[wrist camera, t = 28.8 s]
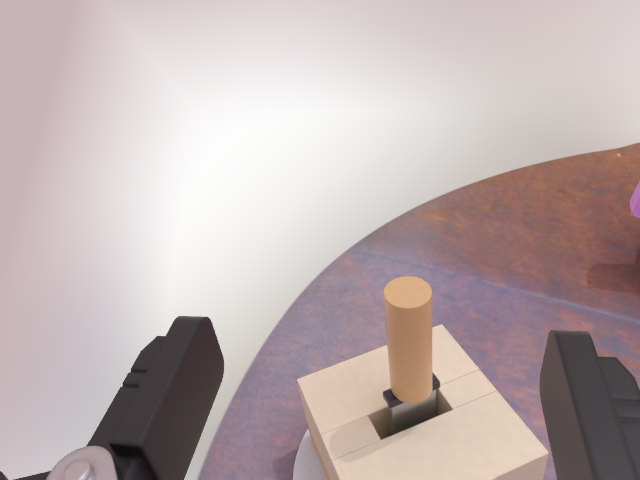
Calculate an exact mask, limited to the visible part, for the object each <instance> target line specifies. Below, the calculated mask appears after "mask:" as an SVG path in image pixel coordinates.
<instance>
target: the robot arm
mask: <svg viewBox="0 0 640 480" xmlns="http://www.w3.org/2000/svg"><path fill="white" fill-rule="evenodd" d="M223 373H224V359H223V355H222V352H221V349H220V346H219V343H218V340H217V337H216V334H215V331H214V328H213V325H212V322H211V320H210V319H209V318H208V317H190V316H179V317H177V318H176V319H175V320H174V322H173V324H172V326H171V327H170V329H169V331H168V333H167V335H166V336H157V337H156V338H155V339H154V340H153V341H152V342H151V343H150V344H148V345H147V346H146V347H145V348H144V349H143V350H142V351H141V352H140V354H139V356H138V358H137V359H136V361H135V363H134V365H133V366H132V368H131V372H130V373H128V375H127V377H126V378H125V380H124V382H123V386H122V387H120V389H119V391H118V393H117V394H116V396H115V398H114V400H113V402H112V403H111V405H110V407H109V408H108V410H107V412H106V414H105V415H104V417H103V419H102V421H101V422H100V424H99V426H98V428H97V429H96V431H95V433H94V435H93V436H92V438H91V440H90V441H89V443H88V445H87V446H86V447H83V448H80V449H77V450H75V451H73V452H71V453H70V454H68V455H66V456H65V457H64V458H63V459H61V460H60V461H59V462H58V463H57V464H56V465H55V466H54V468H53V469H52V470H51V471H49V472H45V473H40V474H36V475H32V476H28V477H23V478H19V479H15V480H184V478H185V475H186V473H187V470H188V467H189V465H190V462H191V460H192V457H193V454H194V452H195V449H196V447H197V444H198V442H199V439H200V436H201V434H202V431H203V428H204V426H205V423H206V421H207V418H208V416H209V413H210V410H211V408H212V405H213V402H214V400H215V397H216V395H217V392H218V390H219V387H220V384H221V382H222V378H223ZM540 397H541V404H542V408H543V413H544V418H545V423H546V427H547V432H548V437H549V442H550V446H551V451H552V456H553V461H554V465H555V470H556V475H557V480H640V390H639V387H638V385H637V382H636V380H635V378H634V376H633V375H632V374H631V373H630V372H629V371H628V370H627V369H626V368H625V367H624V366H623V365H622V363H621V362H620V361H619V360H618V359H617V358H616V357H598V355H597V353H596V350H595V347H594V344H593V341H592V338H591V336H590V334H589V333H588V332H583V331H555V330H551V331H550V332H549V335H548V340H547V345H546V349H545V354H544V359H543V364H542V369H541V374H540ZM0 480H8V479H7V478H6V476H5V475H4V474H3V473H2V472H1V471H0Z"/></svg>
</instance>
